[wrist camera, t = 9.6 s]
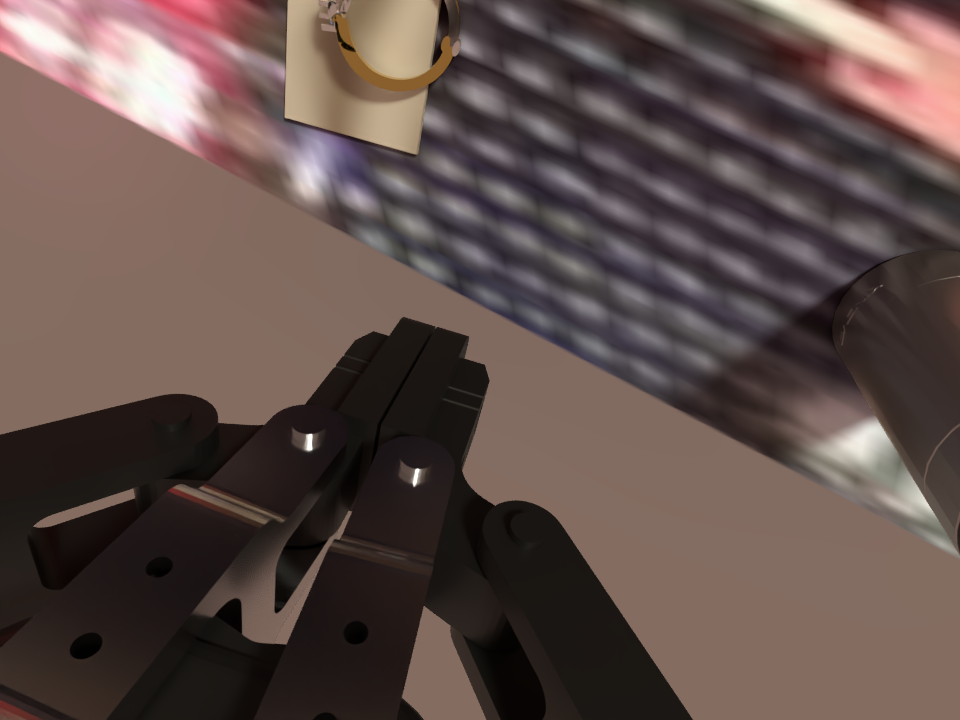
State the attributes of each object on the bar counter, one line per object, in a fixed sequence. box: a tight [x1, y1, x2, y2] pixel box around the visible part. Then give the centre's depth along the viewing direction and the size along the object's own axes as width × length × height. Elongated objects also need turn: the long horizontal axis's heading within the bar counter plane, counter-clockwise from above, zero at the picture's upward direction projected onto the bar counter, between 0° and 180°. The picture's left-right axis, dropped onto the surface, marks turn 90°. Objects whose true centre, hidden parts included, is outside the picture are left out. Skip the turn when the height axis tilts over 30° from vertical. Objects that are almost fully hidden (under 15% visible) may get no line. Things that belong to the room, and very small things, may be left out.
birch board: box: [285, 0, 442, 155], centre depth 34 cm, size 9×13×1 cm
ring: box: [318, 0, 461, 91], centre depth 33 cm, size 7×3×8 cm
